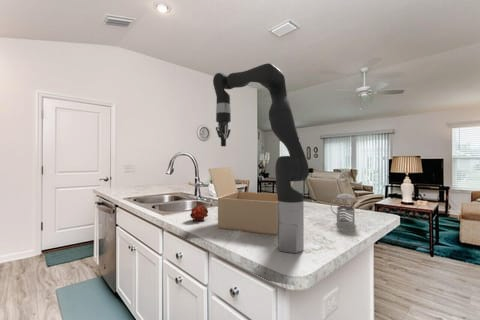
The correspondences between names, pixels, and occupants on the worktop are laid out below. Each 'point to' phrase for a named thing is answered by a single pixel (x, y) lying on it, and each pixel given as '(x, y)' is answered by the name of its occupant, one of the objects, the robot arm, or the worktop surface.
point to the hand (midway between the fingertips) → (223, 146)
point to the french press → (343, 221)
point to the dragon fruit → (199, 213)
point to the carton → (249, 212)
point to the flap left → (223, 181)
